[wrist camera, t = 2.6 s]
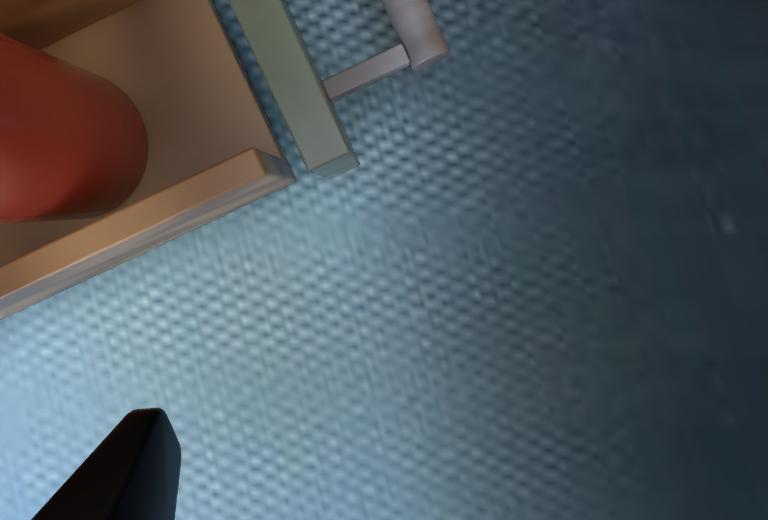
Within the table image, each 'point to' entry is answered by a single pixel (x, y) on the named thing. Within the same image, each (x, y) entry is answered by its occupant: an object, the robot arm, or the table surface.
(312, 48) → the table surface
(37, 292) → the drawer
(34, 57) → the thermos bottle
